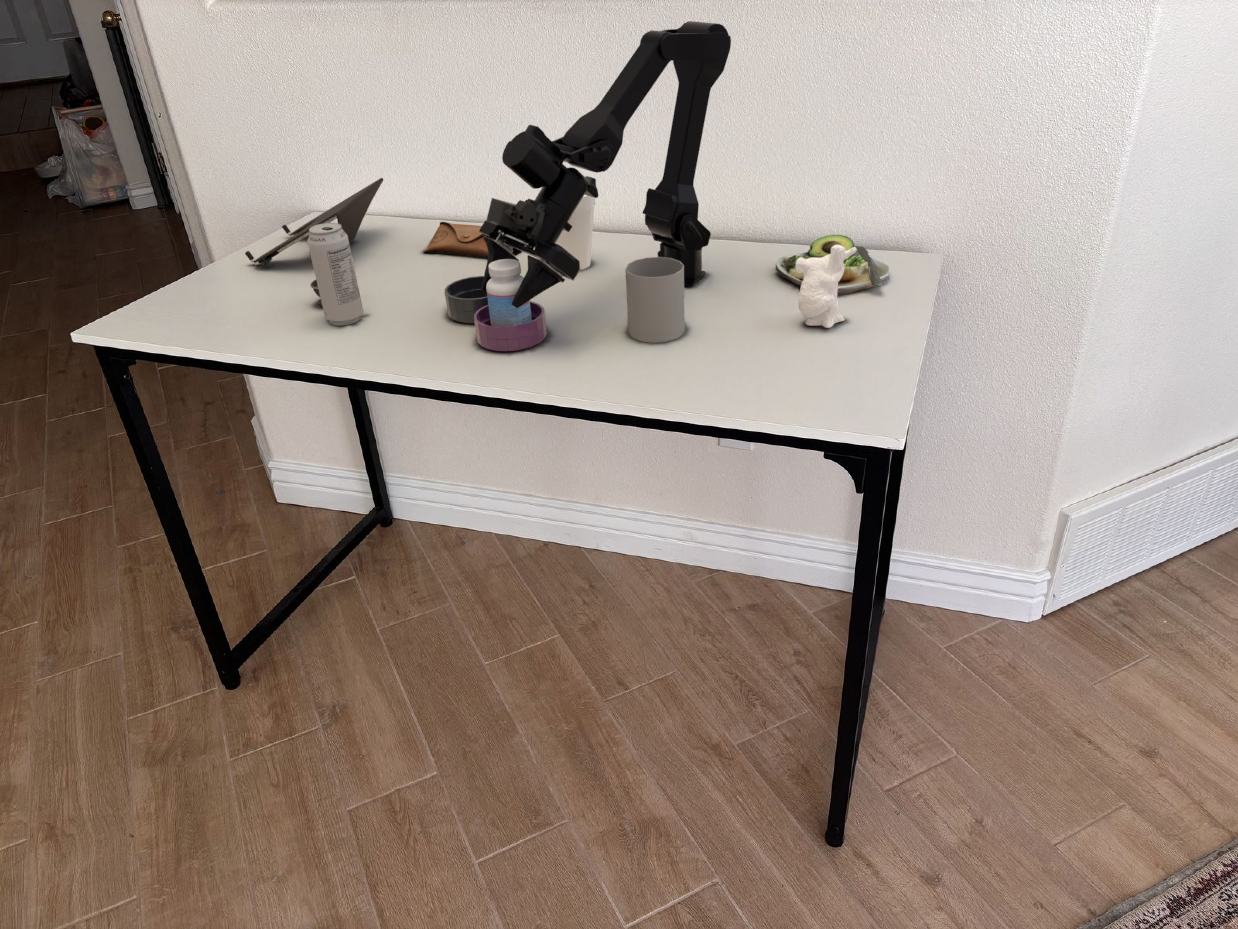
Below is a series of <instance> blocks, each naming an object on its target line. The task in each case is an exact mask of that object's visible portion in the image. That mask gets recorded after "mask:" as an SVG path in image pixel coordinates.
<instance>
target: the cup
mask: <svg viewBox="0 0 1238 929" xmlns="http://www.w3.org/2000/svg"><path fill="white" fill-rule="evenodd" d="M624 270H625V288H626V289H625V290H626V291H625V292H626V310H627V331H628V335H629V336H630V338H631V339H634V340H636V341H639V342H644V343H650V344H656V343H657V344H658V343H666V342H671V341H675V340H677V339H679V338H680V337H681V336H683V335H684V333H685V330H686V329H685V328H686V327H685V325H686V324H685V323H686V320H685V319H686V318H685V316H686V315H685V286H684V265H683V264H682V263H681V262H680V261H678V260H675V259H672V258H665V257H658V256H653V257H652V256H651V257H644V258H639V259H635V260H633V261H631V262H629V263H627V265H626V267H625V269H624Z"/></svg>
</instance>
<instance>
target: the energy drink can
mask: <svg viewBox="0 0 1238 929" xmlns="http://www.w3.org/2000/svg"><path fill="white" fill-rule="evenodd" d="M309 232H310V234H309V235H308V236H307V246H308V250H309V254H310V259H311V263H312V267H313V272H314V276H315V280H317V285H318V289H319V293H320V297H321V298H320V297H319V298H320V299H321V302H322V306H323V308H322V310H323V315H324V318H325V320H327V321H329V323H330V324H331V325H333V326H348V325H352V324H355V323H357V322H359V321H360V320H361V319H362V315H363V314H364V307H363V303H362V298H361V293H360V288H359V284H358V279H357V273H356V270H355V265H354V264H355V263H354V260H353V255H352V251H351V245H349V240H348V235H347V234H346V233H345V232H344V231H343V229H342V226H341V224H338V222H330V223H323V224H318V225H315V226H313V227H311V228H310V229H309Z"/></svg>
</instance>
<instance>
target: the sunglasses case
mask: <svg viewBox="0 0 1238 929" xmlns="http://www.w3.org/2000/svg"><path fill="white" fill-rule="evenodd" d="M481 227H482V225H475V224H460V223H452V222H447V221H440V222H439V226H437V229H436V231H435V232H434V234H433V236H432V237H431V240H430V241H429V243H428V245H427V247H426V249H424V250H423V251H422V252H423V253H437V254H446V255H454V256H464V257H473V258H481V259H488V249H487V245H486V242H485V241H484V240H483V236H484V235H483V234H481V233H480V232H479V230H480V228H481ZM512 255H513V254H512ZM513 256H514V255H513Z"/></svg>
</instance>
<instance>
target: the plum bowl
mask: <svg viewBox="0 0 1238 929" xmlns="http://www.w3.org/2000/svg"><path fill="white" fill-rule="evenodd" d="M530 309H531V317H532V321H530V322H528V323H525V324H521V325H517V326H508V327H495V326H491V321H490V313H489V305H486V306H484V307H482V308H480V309H479V310H477V311H476V313H475V314H474V322H475V323H474V328H475V335H476V336H475V337H476V342H477V343H478V345H480V347H482V348H484V349H487V350H490V351H496V352H517V351H523V350H527V349H530V348H533V347H534V346H536V345H538V344H540V343H541V342H542V341H544V340H545V338H546V337H547V334H548V332H547V323H546V322H547V321H546V312H545V308H544V307H543V306H542V304H540V303H537V302H534V301H532V300H530Z"/></svg>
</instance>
